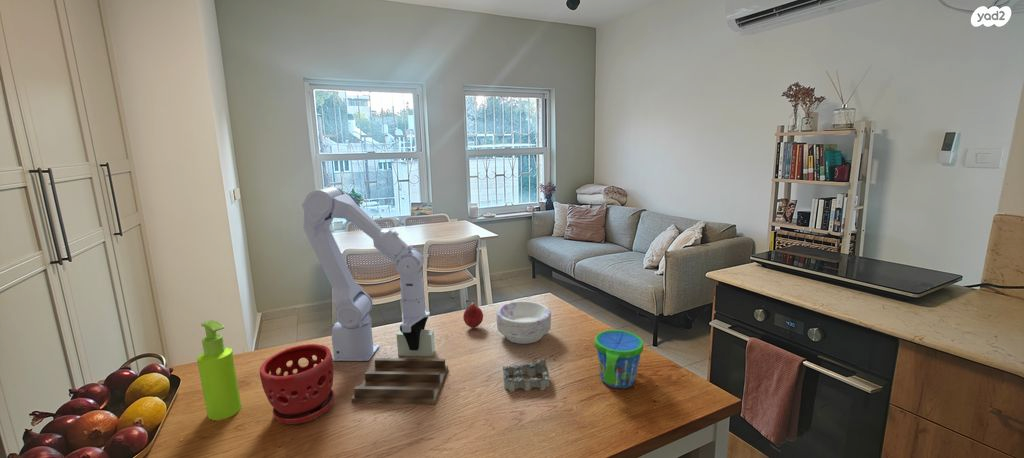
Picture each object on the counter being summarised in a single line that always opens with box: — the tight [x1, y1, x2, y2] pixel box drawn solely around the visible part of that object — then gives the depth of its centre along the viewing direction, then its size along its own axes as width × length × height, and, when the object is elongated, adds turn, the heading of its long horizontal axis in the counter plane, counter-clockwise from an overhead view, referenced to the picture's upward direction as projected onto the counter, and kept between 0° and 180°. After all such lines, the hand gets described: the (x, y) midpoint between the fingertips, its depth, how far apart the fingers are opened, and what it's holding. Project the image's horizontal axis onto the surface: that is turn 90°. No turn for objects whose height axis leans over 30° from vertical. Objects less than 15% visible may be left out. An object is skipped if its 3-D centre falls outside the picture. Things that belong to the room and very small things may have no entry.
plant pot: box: [259, 343, 335, 425], centre depth 87 cm, size 13×13×12 cm
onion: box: [463, 301, 484, 329], centre depth 125 cm, size 6×6×8 cm
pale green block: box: [396, 329, 436, 357], centre depth 111 cm, size 9×3×6 cm, turn 87°
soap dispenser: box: [196, 319, 242, 421], centre depth 86 cm, size 6×7×20 cm
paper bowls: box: [496, 300, 552, 345], centre depth 119 cm, size 15×15×8 cm
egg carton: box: [502, 358, 551, 392], centre depth 97 cm, size 11×8×4 cm
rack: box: [350, 357, 449, 405], centre depth 97 cm, size 18×14×3 cm
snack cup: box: [594, 329, 644, 389], centre depth 96 cm, size 16×10×10 cm
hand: (416, 346), depth 112 cm, fingers open, 3 cm apart
